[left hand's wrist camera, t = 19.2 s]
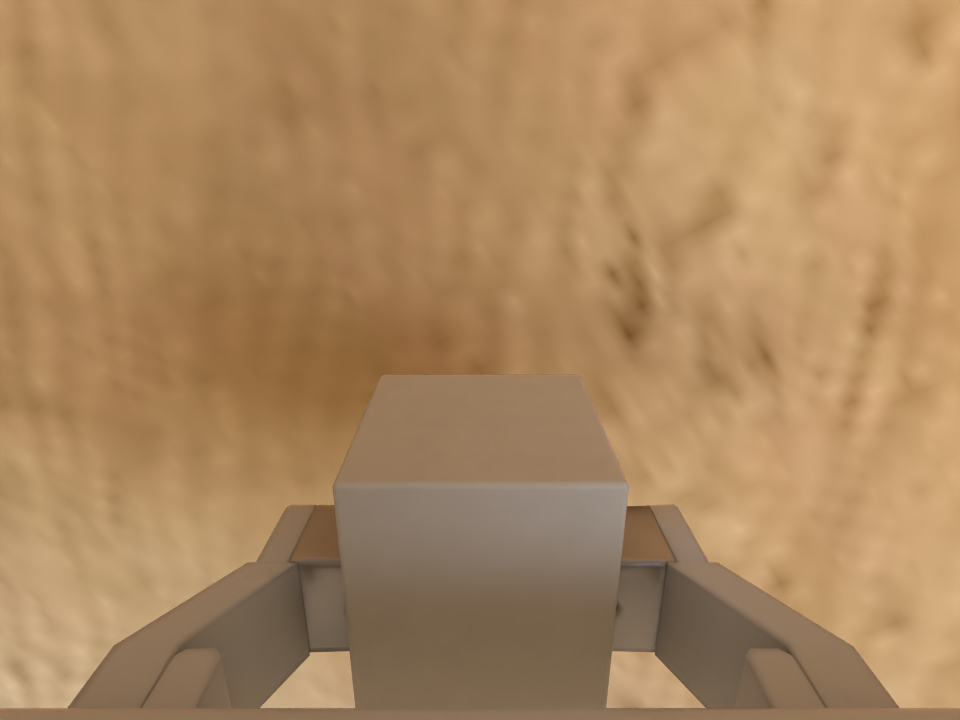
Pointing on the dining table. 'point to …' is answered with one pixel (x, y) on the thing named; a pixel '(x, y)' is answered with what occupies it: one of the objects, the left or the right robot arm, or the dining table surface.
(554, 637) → the light grey cube
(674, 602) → the left robot arm
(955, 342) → the dining table surface
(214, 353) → the dining table surface
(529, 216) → the dining table surface
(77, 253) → the dining table surface
